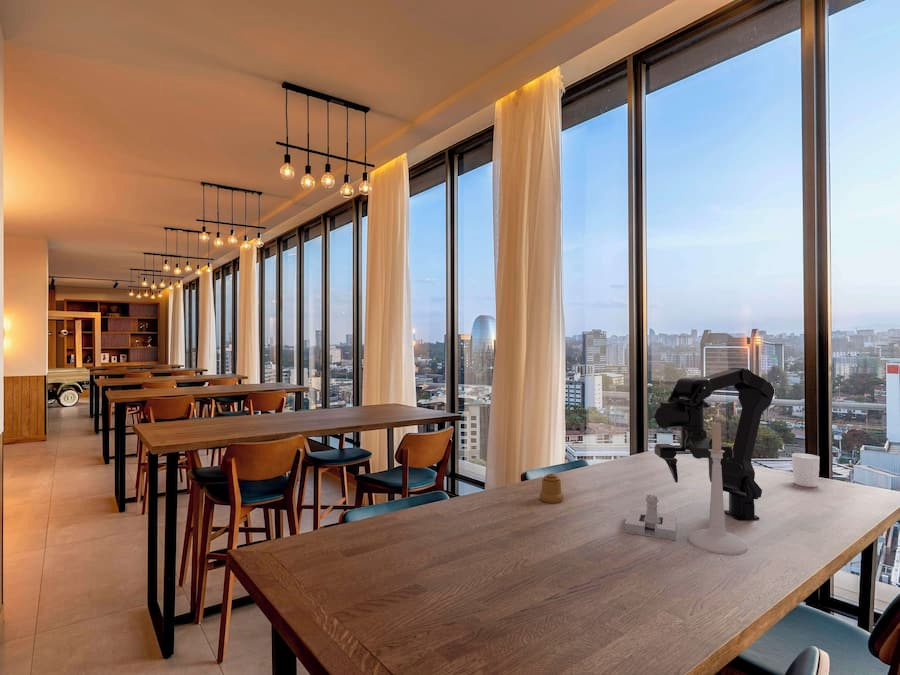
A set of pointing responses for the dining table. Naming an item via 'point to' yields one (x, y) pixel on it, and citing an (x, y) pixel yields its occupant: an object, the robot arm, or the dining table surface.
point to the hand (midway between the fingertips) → (693, 482)
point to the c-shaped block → (662, 530)
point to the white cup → (805, 469)
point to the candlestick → (717, 510)
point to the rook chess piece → (651, 512)
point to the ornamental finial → (551, 489)
